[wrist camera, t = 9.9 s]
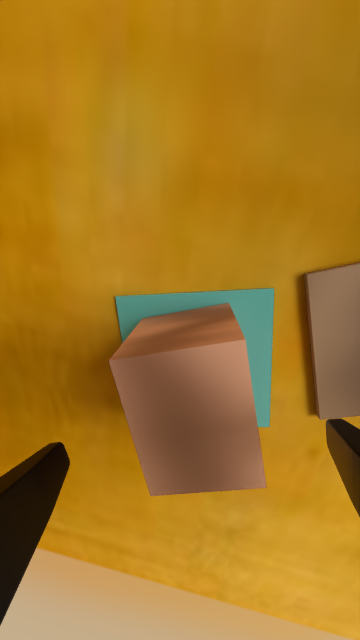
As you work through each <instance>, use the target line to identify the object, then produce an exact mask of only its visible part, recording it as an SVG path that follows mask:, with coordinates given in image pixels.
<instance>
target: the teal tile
mask: <svg viewBox="0 0 360 640" xmlns="http://www.w3.org/2000/svg"><path fill="white" fill-rule="evenodd" d="M115 298H116V305H117V311H118V318H119V325H120V331H121V338H122V343H123V342H124V341H125V340H126V338H127V337H128V336H129V335H130V333H131V332H132V331H133V330H134V328H135V327H136V326H137V325H138V323H139V322H140V321H141V320H142V319H143V318H146V317H152V316H157V315H163V314H168V313H174V312H180V311H185V310H191V309H197V308H202V307H208V306H213V305H219V304H225V303H229V304H230V306H231V308H232V311H233V313H234V315H235V317H236V320H237V322H238V324H239V326H240V328H241V331H242V333H243V335H244V337H245V339H246V347H247V354H248V361H249V368H250V375H251V382H252V389H253V396H254V403H255V410H256V417H257V424H258V427H269V422H270V394H271V365H272V336H273V308H274V288H260V289H240V290H221V291H202V292H183V293H164V294H145V295H125V296H116V297H115Z"/></svg>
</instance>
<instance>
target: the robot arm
mask: <svg viewBox="0 0 360 640" xmlns="http://www.w3.org/2000/svg"><path fill="white" fill-rule="evenodd" d="M326 437H327V445H328V449H329V451H330V453H331V456H332V458H333V460H334V463H335V465H336V467H337V469H338V472H339V474H340V476H341V479H342V481H343V483H344V485H345V488H346V490H347V492H348V494H349V497H350V499H351V501H352V503H353V505H354V507H355V509H356V511H357V513H358V515H359V516H360V429H358V428H357V427H355V426H353V425H352V424H350V423H348V422H346V421H345V420H343V419H328V420H327V421H326ZM69 465H70V460H69V457H68V454H67V452H66V449H65V447H64V445H63V443H61V442H55V443H50V444H48V445H47V446H45V447H44V448H42V449H41V450H39V451H38V452H36V453H35V454H33V455H32V456H30V457H29V458H28V459H26V460H25V461H23V462H22V463H20V464H19V465H17V466H16V467H14V468H13V469H11V470H10V471H9V472H7V473H6V474H4V475H3V476H1V477H0V625H1V623H2V621H3V619H4V616H5V614H6V612H7V610H8V608H9V606H10V603H11V601H12V599H13V597H14V595H15V593H16V591H17V588H18V586H19V584H20V582H21V580H22V577H23V575H24V573H25V571H26V569H27V567H28V565H29V562H30V560H31V558H32V556H33V554H34V552H35V549H36V547H37V545H38V543H39V541H40V538H41V536H42V534H43V532H44V530H45V528H46V525H47V523H48V521H49V519H50V517H51V514H52V512H53V509H54V507H55V504H56V501H57V499H58V496H59V493H60V490H61V488H62V485H63V482H64V480H65V477H66V474H67V471H68V469H69Z"/></svg>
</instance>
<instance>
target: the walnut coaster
mask: <svg viewBox="0 0 360 640" xmlns="http://www.w3.org/2000/svg"><path fill="white" fill-rule="evenodd" d="M304 280H305V291H306V302H307V313H308V324H309V335H310V346H311V357H312V368H313V379H314V390H315V401H316V412H317V416H318V417H319V419H320V420H322V419H332V418H342V417H351V416H360V262H359V263H354V264H349V265H344V266H339V267H334V268H329V269H324V270H319V271H314V272H309V273H304Z"/></svg>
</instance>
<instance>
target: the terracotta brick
mask: <svg viewBox="0 0 360 640" xmlns="http://www.w3.org/2000/svg"><path fill="white" fill-rule="evenodd" d="M109 364H110V367H111V370H112V374H113V377H114V380H115V383H116V386H117V390H118V393H119V396H120V399H121V403H122V406H123V409H124V412H125V415H126V419H127V422H128V425H129V428H130V431H131V435H132V438H133V441H134V444H135V448H136V451H137V454H138V457H139V460H140V464H141V467H142V470H143V473H144V476H145V480H146V483H147V486H148V489H149V493H150V496H158V495H172V494H186V493H199V492H213V491H227V490H241V489H255V488H266V481H265V474H264V467H263V460H262V453H261V446H260V438H259V431H258V424H257V417H256V410H255V403H254V396H253V389H252V382H251V375H250V368H249V361H248V354H247V347H246V339H245V337H244V335H243V333H242V331H241V328H240V326H239V324H238V322H237V320H236V317H235V315H234V313H233V311H232V308H231V306H230V304H229V303H225V304H219V305H213V306H208V307H202V308H197V309H191V310H185V311H180V312H174V313H168V314H163V315H157V316H152V317H146V318H143V319H142V320H141V321H140V322H139V323H138V325H137V326H136V327H135V328H134V330H133V331H132V332H131V333H130V335H129V336H128V337H127V338H126V340H125V341H124V342H123V343H122V345H121V346H120V347H119V348H118V350H117V351H116V352H115V353H114V354H113V356H112V357H111V358H110V359H109Z"/></svg>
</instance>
